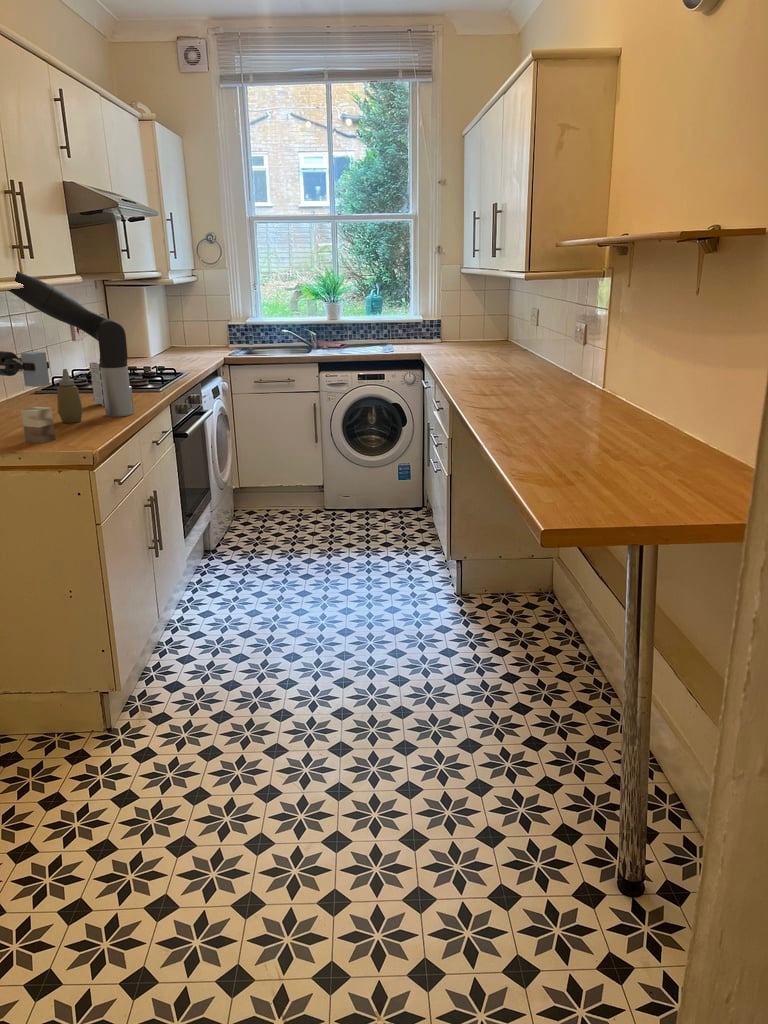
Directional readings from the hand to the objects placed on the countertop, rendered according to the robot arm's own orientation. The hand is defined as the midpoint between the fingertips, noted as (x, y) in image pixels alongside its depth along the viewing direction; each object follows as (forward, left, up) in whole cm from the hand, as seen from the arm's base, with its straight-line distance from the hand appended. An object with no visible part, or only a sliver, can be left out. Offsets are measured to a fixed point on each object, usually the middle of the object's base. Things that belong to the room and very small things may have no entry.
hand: (41, 366), depth 237 cm
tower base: (+6, +2, -22) cm, 23 cm away
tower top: (+6, +2, -17) cm, 18 cm away
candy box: (-56, -23, -22) cm, 65 cm away
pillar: (0, -3, -6) cm, 7 cm away
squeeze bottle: (-21, -11, -22) cm, 32 cm away
